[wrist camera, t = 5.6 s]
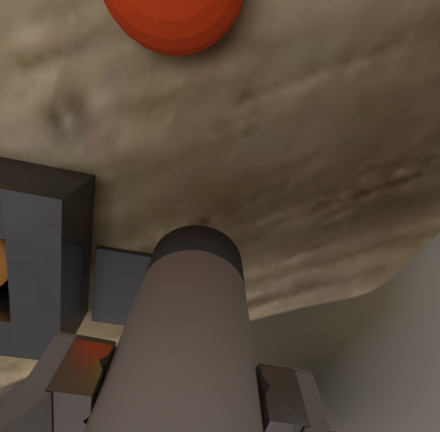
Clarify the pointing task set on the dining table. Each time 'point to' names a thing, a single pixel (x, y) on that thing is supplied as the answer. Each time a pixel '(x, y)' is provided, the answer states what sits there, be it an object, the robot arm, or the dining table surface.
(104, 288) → the mat
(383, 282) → the dining table surface
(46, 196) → the panel
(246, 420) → the white cylinder
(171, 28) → the clementine
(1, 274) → the orange rounded piece
